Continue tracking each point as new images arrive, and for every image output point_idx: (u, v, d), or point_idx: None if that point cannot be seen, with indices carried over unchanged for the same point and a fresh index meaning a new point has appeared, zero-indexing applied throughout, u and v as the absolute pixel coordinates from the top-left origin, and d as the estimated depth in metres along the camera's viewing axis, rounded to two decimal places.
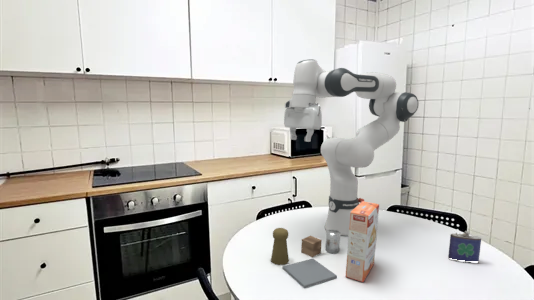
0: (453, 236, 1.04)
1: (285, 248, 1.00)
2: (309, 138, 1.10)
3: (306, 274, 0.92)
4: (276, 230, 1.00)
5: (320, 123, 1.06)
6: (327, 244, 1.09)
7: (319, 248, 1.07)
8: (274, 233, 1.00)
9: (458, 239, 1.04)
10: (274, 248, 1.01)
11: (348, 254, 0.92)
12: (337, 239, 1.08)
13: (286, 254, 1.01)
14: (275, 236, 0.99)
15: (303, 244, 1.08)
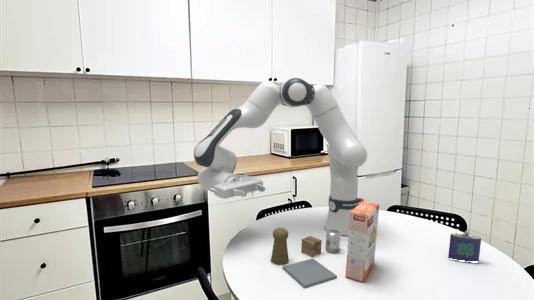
0: (453, 236, 1.04)
1: (285, 248, 1.00)
2: (241, 192, 1.04)
3: (306, 274, 0.92)
4: (276, 230, 1.00)
5: (220, 189, 1.05)
6: (327, 244, 1.09)
7: (319, 248, 1.07)
8: (274, 233, 1.00)
9: (458, 239, 1.04)
10: (274, 248, 1.01)
11: (348, 254, 0.92)
12: (337, 239, 1.08)
13: (286, 254, 1.01)
14: (275, 236, 0.99)
15: (303, 244, 1.08)
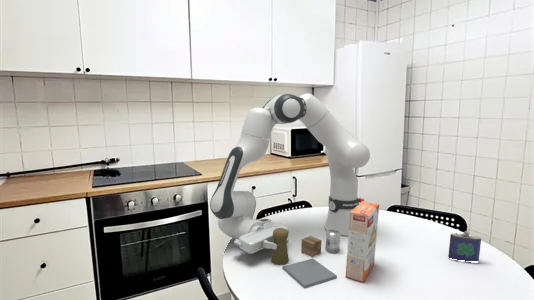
0: (453, 236, 1.04)
1: (285, 248, 1.00)
2: (272, 245, 0.99)
3: (306, 274, 0.92)
4: (276, 230, 1.00)
5: (246, 244, 0.98)
6: (327, 244, 1.09)
7: (319, 248, 1.07)
8: (274, 233, 1.00)
9: (458, 239, 1.04)
10: None
11: (348, 254, 0.92)
12: (337, 239, 1.08)
13: (286, 254, 1.01)
14: (275, 236, 0.99)
15: (303, 244, 1.08)
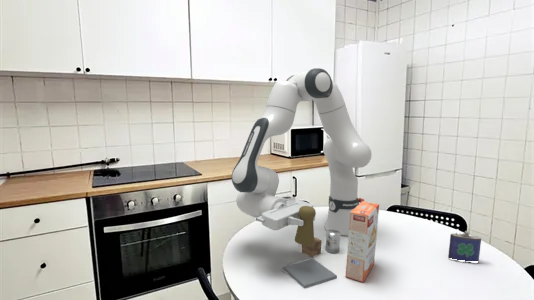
0: (453, 236, 1.04)
1: (311, 228, 0.92)
2: (299, 221, 0.91)
3: (306, 274, 0.92)
4: (303, 208, 0.92)
5: (270, 220, 0.90)
6: (327, 244, 1.09)
7: (319, 248, 1.07)
8: (300, 211, 0.92)
9: (458, 239, 1.04)
10: (299, 227, 0.93)
11: (348, 254, 0.92)
12: (337, 239, 1.08)
13: (312, 234, 0.93)
14: (301, 214, 0.91)
15: None
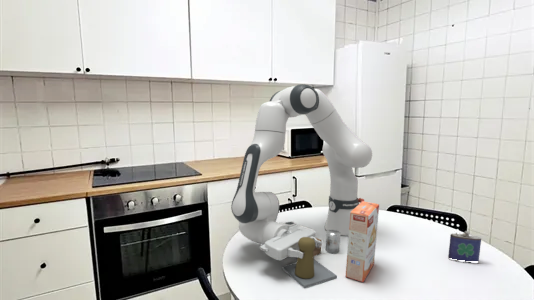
0: (453, 236, 1.04)
1: (311, 260, 0.91)
2: (298, 253, 0.90)
3: None
4: (302, 239, 0.91)
5: (274, 250, 0.90)
6: (327, 244, 1.09)
7: (319, 248, 1.07)
8: (300, 242, 0.91)
9: (458, 239, 1.04)
10: (299, 259, 0.91)
11: (348, 254, 0.92)
12: (337, 239, 1.08)
13: (312, 267, 0.91)
14: (301, 246, 0.90)
15: None
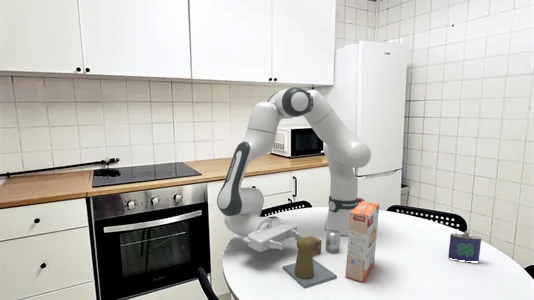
0: (453, 236, 1.04)
1: (310, 260, 0.91)
2: (278, 244, 0.95)
3: None
4: (300, 239, 0.91)
5: (255, 241, 0.95)
6: (327, 244, 1.09)
7: (319, 248, 1.07)
8: (298, 243, 0.91)
9: (458, 239, 1.04)
10: (298, 259, 0.91)
11: (348, 254, 0.92)
12: (337, 239, 1.08)
13: (311, 266, 0.91)
14: (299, 246, 0.90)
15: None
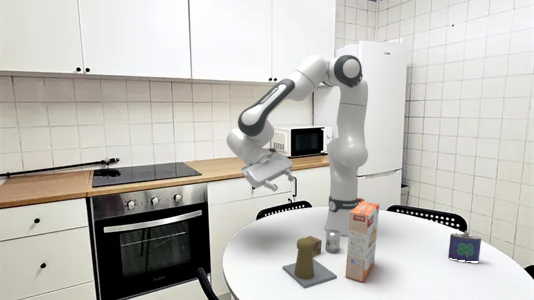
0: (453, 236, 1.04)
1: (310, 261, 0.90)
2: (272, 187, 1.04)
3: None
4: (300, 240, 0.91)
5: (253, 179, 1.03)
6: (327, 244, 1.09)
7: (319, 248, 1.07)
8: (298, 244, 0.90)
9: (458, 239, 1.04)
10: (298, 260, 0.91)
11: (348, 254, 0.92)
12: (337, 239, 1.08)
13: (311, 267, 0.91)
14: (299, 247, 0.90)
15: None
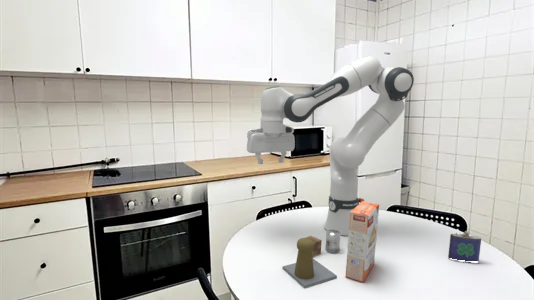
0: (453, 236, 1.04)
1: (310, 261, 0.90)
2: (259, 160, 1.18)
3: None
4: (300, 240, 0.91)
5: (249, 147, 1.15)
6: (327, 244, 1.09)
7: (319, 248, 1.07)
8: (298, 244, 0.90)
9: (458, 239, 1.04)
10: (298, 260, 0.91)
11: (348, 254, 0.92)
12: (337, 239, 1.08)
13: (311, 267, 0.91)
14: (299, 247, 0.90)
15: None
